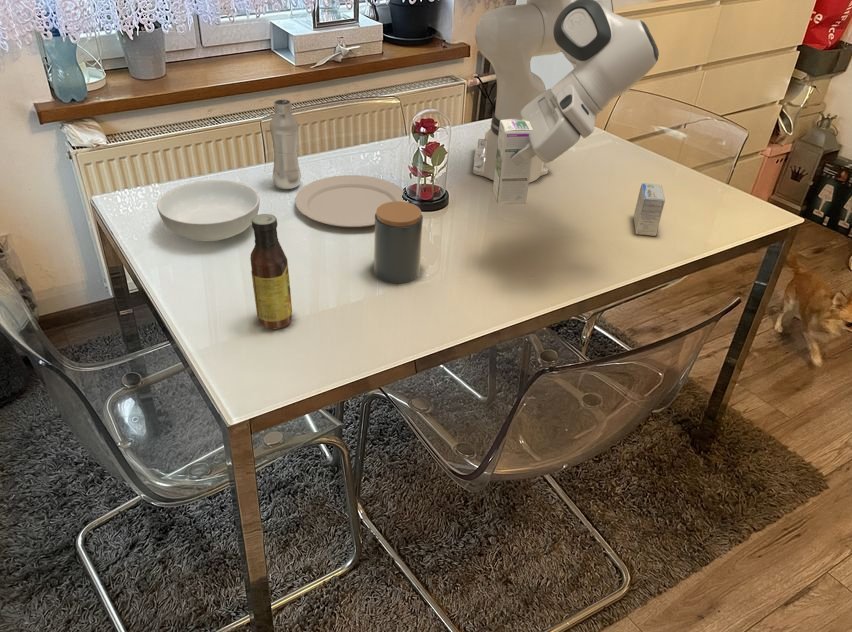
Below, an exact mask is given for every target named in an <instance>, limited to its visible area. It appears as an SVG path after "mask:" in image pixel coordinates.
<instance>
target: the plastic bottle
mask: <svg viewBox="0 0 852 632" xmlns="http://www.w3.org/2000/svg"><path fill="white" fill-rule="evenodd" d="M273 106H274V107H273V111H274V112H275V113H274V115H273V116H272V118H271V119H270V122H269V132H270V136H271V141H272V148H273V170H272V180H273V184H274V185H275V187H276V188H278V189H282V190H291V189H295V188H297V187H299V185H300V183H301V179H302V174H301V173H302V172H301V168H300V166H299V165H300V163H299V157H298V138H299V122H298V119H297V118H296V117H295V116H294V114H293V113H292V110H293V109H292V102H291V100H289V99H276V100H275V101H274V103H273Z"/></svg>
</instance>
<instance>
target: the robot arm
mask: <svg viewBox="0 0 852 632" xmlns="http://www.w3.org/2000/svg"><path fill="white" fill-rule="evenodd" d="M474 39H475V44H476V47H477V50H478V51H479V53H480V54H481V55H482V56H483V57H484V58H485V59H486V60H487V61H488V62H489V63H490V65H491V67H492V69H493V71H494V75H495V79H496V96H495V97H496V98H495V109H494V113H493V115H492V117H491V121H490V122H491V124H490V128H489V129H488V130H487V131H486V132H485V133H484V138H478V140H477V147H475V149H474V155H473V167H472V173H473V174H474V175H477V176H481V177H484V178H487V179H489V180H491V181H494V173H495V164H496V154H497V144H498V134H499V126H500V120H507V119H527V120H529V122H530V124H531V127H532V129H533V131H532V132H531V133H530V134H529V135H528V137H529V140H530V143H528V144H527V145H526V147H525V148H524V149H522V150H520V151H518V150H517V151H516V152H515V153H514V154H513V155H512V156H511V159H512V162H513V163H514V164H515V165H519V164H521V163H522V162H523V161H524V160H527V159H530V158H532V163H531V171H530V178H529V184H530V183H533V182H535V181H537V180H539V178H540V177H543V176H545V175H547V174H549V168H548V167H547V166H546V165H545V164H546V163H551V162H554V161H555V160H556V159H558V158H559V157H560V156H562V155H563V154H564V153H566V152H567V151H568V150H570V149H571V148H572V147H573V146H575V145H576V144H577V143H578V142H579V141H580V139H581V137H582V139H586V138H588V137H589V136H591V134H593V133H594V131H595V125H596V121H597V117H598V115H599V114H601V113H602V112H603V111H604V110H606V108H607V106H608V105H610V103H611V102H612V101H613V100H615V99H616V98H618V97H620V96H622V95H625V93H627V92H628V91H630V89H632V88H633V87H634V86H635V85H636V84H638V83H639V82H640V81H641V80H642V79H643V78H644V77H645V76H646V75H647V74H648V73H649V72H651V70H652V69H653V68H654V67H655V66H656V64H657V63H658V60H659V56H660V53H659V48H658V46H657V43H656V41H655V39H654V37H653V35H652V33H651V31H650V29H649V27H648V25H647V24H646V23H645V22H644V21H643V20H641V19H638V18H637V19H636V18H635V19H633V18H628V17H625V16H622V15H619V14H617V13H615V12H614V5H613V0H575V1H572V0H526V3H524V4H523V3H522V4H511V5H510V4H509V5H502V6H499V7H496V8H493V9H491V10H488V11H485V12H484V13H483V14H482V15H481V16H480V17H479V19H478V22H477V23H476V27H475V33H474ZM560 53H562V54H563V56H564V57H565V58H566V60H567V61H568V62H569V63H570V64H571V65H572V66H573V69H572V70H571V71H570V72H568V74H567V75H564V77H563V78H562V79H560V80H559V81H558V82H557V83H555V84H554V85H553V86H552V87H551V88H548V89H546V85H545V83H544V80H543V79H542V78H541V77H540V76H539V75H537V74H536V73H534V72H532V67H531V61H532V58H535V57H543V56H544V57H545V56H553V55H557V54H560Z"/></svg>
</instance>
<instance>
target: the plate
mask: <svg viewBox="0 0 852 632" xmlns="http://www.w3.org/2000/svg"><path fill="white" fill-rule="evenodd" d="M404 191H405V190H404V189H403V188H402V187H400V186H398V185H397V184H395V183H394V182H391V181H389V180H386V179H383V178H379V177H373V176H370V175H369V176H368V175H358V174H357V175H356V174H355V175H354V174H346V175H335V176H334V175H333V176H328V177H324V178H320V179H317V180H314V181H312V182H310V183H307V184H306V185H305V186H303V187H301V189H299V190H298V192H297V193H296V195H295V198H294V202H295V207H296V208H297V210H298V211H299V212H300V213H301V214H302V215H304V216H305V217H307V218H309V219H311V220H312V221H315V222H318V223H322V224H326V225H330V226H335V227H340V228H363V227H364V228H365V227H371V226H375V214H376V211H377V208H378V207H379V206H380V205H382V204H385V203H388V202H396V201H399V202H407V203H410V200H409V201H408V200H407V201H405V200H403V198H402V195H403V192H404Z"/></svg>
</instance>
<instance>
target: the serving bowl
mask: <svg viewBox="0 0 852 632" xmlns="http://www.w3.org/2000/svg"><path fill="white" fill-rule="evenodd" d="M260 201H261V199H260V194H259V193H258V191H257V190H255V189H254V188H253V187H251V186H250V185H247V184H245V183H243V182H239V181H234V180H227V179H225V180H224V179H207V180H199V181H194V182H189V183H185V184H182V185H179V186H176V187H173V188H171V189H170V190H168V191H166V192H165V193H164V194H162V195H161V196H160V198H159V199H158V200H157V204H156V208H157V211H158V214H159V217H160V219H161V221H162V223H163V224H164V225H165V227H167V229H169V231H171V232H172V233H173V234H175V235H177V236H179V237H181V238H184V239H186V240H187V239H188V240H191V241H197V242H216V241H221V240H226V239H230V238H232V237H235V236H238V235H239V234H241V233H243V232H245V230H247V229H248V228H249V227H250V226H252V218H253V217H255V216H257V215H259V214H258V213H259V209H260V203H261V202H260Z"/></svg>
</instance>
